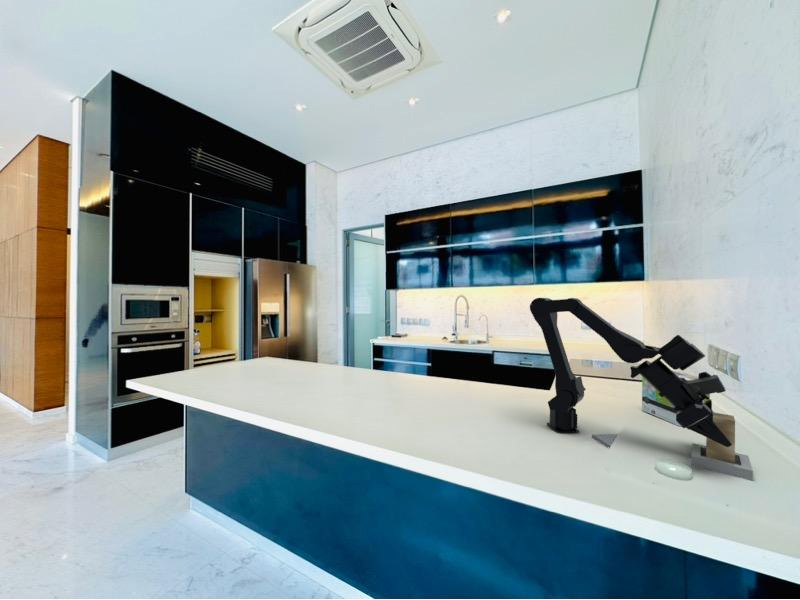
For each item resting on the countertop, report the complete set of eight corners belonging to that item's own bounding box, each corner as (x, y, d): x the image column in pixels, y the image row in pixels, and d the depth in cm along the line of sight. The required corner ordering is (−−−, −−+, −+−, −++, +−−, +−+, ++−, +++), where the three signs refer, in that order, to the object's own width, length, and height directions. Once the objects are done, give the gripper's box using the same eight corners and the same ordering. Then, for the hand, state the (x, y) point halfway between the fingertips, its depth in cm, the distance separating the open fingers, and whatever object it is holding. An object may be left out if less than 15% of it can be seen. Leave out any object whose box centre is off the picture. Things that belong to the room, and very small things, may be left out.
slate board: (630, 461, 78) (630, 458, 78) (591, 437, 92) (592, 434, 92) (686, 460, 78) (686, 457, 78) (640, 436, 92) (640, 433, 92)
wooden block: (706, 464, 75) (706, 415, 75) (706, 457, 78) (706, 411, 78) (734, 471, 72) (735, 420, 72) (733, 464, 75) (733, 415, 75)
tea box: (640, 411, 115) (640, 368, 115) (667, 410, 116) (667, 368, 116) (680, 427, 100) (681, 378, 100) (711, 427, 101) (711, 378, 101)
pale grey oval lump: (671, 485, 68) (672, 472, 68) (648, 470, 74) (648, 459, 74) (699, 484, 68) (699, 472, 68) (673, 469, 74) (673, 458, 74)
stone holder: (691, 469, 74) (691, 455, 74) (692, 455, 81) (692, 443, 81) (752, 485, 68) (752, 470, 68) (748, 468, 75) (748, 455, 75)
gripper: (696, 367, 71) (773, 433, 63) (697, 357, 84) (760, 410, 77) (650, 396, 76) (716, 460, 68) (658, 382, 90) (713, 435, 82)
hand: (728, 439), depth 74 cm, fingers open, 8 cm apart
